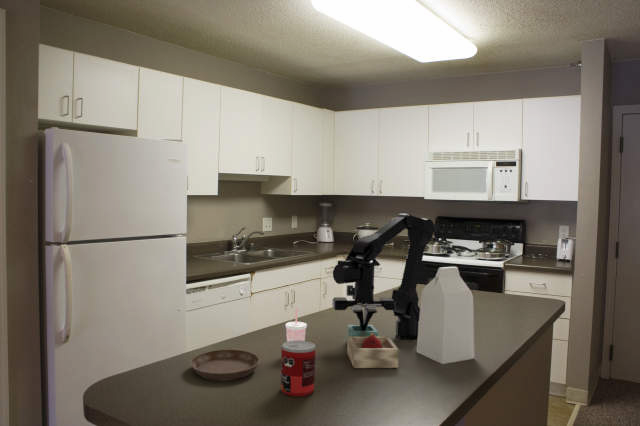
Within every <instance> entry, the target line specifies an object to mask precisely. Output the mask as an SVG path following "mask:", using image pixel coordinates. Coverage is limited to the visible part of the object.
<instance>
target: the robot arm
mask: <svg viewBox="0 0 640 426" xmlns="http://www.w3.org/2000/svg"><path fill="white" fill-rule="evenodd" d="M435 229H436V225H435V223H434V222H433V220H432V219H430V218H422V217H417V216H414V215H412V214H410V213H398V214H396V216H395V217H394V218H393V219H391V220H390V221H389V222H387V223H386V224H384V225H383V226H382V227H381V228H378V230H376V231H375V232H374V233H372V234H369V235H365V236H362V237H361V238H358V239H356V240H355V241H354V242H353V244H352V245H353V246H352V248H351V249H350V251H349V252H348V255H347V256H346V257H345V260H342V259H341V260H337V264H336V265H335V266H334V269H333V271H332V277H333V280H334V282H335V283H336V284H338V285H343V284H349V283H350V284H351V283H354V285H352V284H351V285H350V284H349V285H346V296H347V297H352V300H349V299H347V298H346V297H344V296H342V297H341V296H337V297H333V299H332V304H331V305H332V308H333V309H334V310H335V311H346V310H347V309H348V307H349V308H350V310H351V311H352V312H353V313H354V314H355V316H356V317H357V321H358V323H359V324H358V325H360V328H361V331H365V330H366V327H367V325H369V323H370V320H371V319H372V317H373V315H374V314H377V313H378V310H377V307H378V308H379V307H380V308H383V309H384V310H385V311H392V313H393V317H397V320H396V322H395V335H397V337H398V338H399V339H400V340H408V339H409V340H412V339H414V340H417V339H418V328H419V316H420V307H419V306H420V305H419V300H420V299H419V295H418V292H417V286H418V282H419V278H420V277H419V276H420V271H421V267H422V263H423V257H424V254H425V253H424V252H425V248H426V246H427V245H428V244H429V243H430V242H431V240H432V238H433V236H434V233H435ZM405 230H407V237H408V241H409V246H408V252H407V255H406V256H407V257H406V261H405V265H404V268H403V274H402V279H401V282H400V286H399V287H398V288H397V289H393V290H392V293H391V294H392V295H391V297H379V300H377V299H376V300H375V299H374V295H375V293H374V290H375V286H374V285H375V267H378V266H379V267H380V265H381V263H380V262H379V261H377V257H378V256H379V255H380V254H381V253H382V251H383V249H384V246H385V245H386V244H387V243H389V242H391V240H392V239H394V238H395V237H397V236H399V234H400V233H402V232H403V231H405ZM362 308H363V309H364V311H363V310H362Z"/></svg>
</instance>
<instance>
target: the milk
mask: <svg viewBox="0 0 640 426" xmlns="http://www.w3.org/2000/svg"><path fill="white" fill-rule="evenodd" d="M467 285H468V284H467V283H466V282H465V281H464V280H463V278H462V276H461V275H460V271H459V267H457V266H443V267H438V269H437V272H436V274H435V277H433V279H432V280H431V281H429V282H428V283H427V284H426V285H425V286H424V287H423V289H422V290H421V296H420V305H419V306H420V307H419V308H420V316H419V324H418V339H416V340H417V341H416V351H415V352H416V353H417V354H420V355H422V356H424V357H426V358H429V359H431V360H433V361H435V362H437V363H439V364H441V365H445V364H450V363H456V362H461V361H468V360H473V359H475V326H474V324H475V319H474V318H475V317H474V312H475V311H474V295H473V293H472V291H471V289H470V288H469V286H467Z"/></svg>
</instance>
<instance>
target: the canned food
mask: <svg viewBox="0 0 640 426" xmlns="http://www.w3.org/2000/svg"><path fill="white" fill-rule="evenodd" d="M316 348H317V347H316V344H315V343H313V342H310V341H308V340H307V341H306V340H305V341H288V342H287V341H285V342H283V343H282V345H281V358H280V359H281V360H280V361H281V363H280V364H281V365H280V366H281V367H280V370H281V371H280V389H281V392H282V393H283V394H285V395H286V394H287V396H291V397H305V396H310V395H311V394H312V393H313V392H314V390H315V382H316V381H315V378H316V377H315V376H316Z"/></svg>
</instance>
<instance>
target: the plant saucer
mask: <svg viewBox="0 0 640 426" xmlns="http://www.w3.org/2000/svg"><path fill="white" fill-rule="evenodd" d="M259 363H260V357H259V356H258V355H257V354H256V353H253V352H252V351H251V352H250V351H247V350H241V349H218V350H210V351H207V352H203V353H200V354H198V355H196V356H194V357H192V358H191V360H190V366H191V368H192V369H193V371H194V372H195V373H196V374H197V375H198V376H199V377H201V378H204V379H206V380H210V381H219V382H223V381H225V380H226V381H234V380H239V379H242V378H245V377H247V376H249V375H250V374H251V373H253V371H255V370H256V368H257V367H258V365H259Z"/></svg>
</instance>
